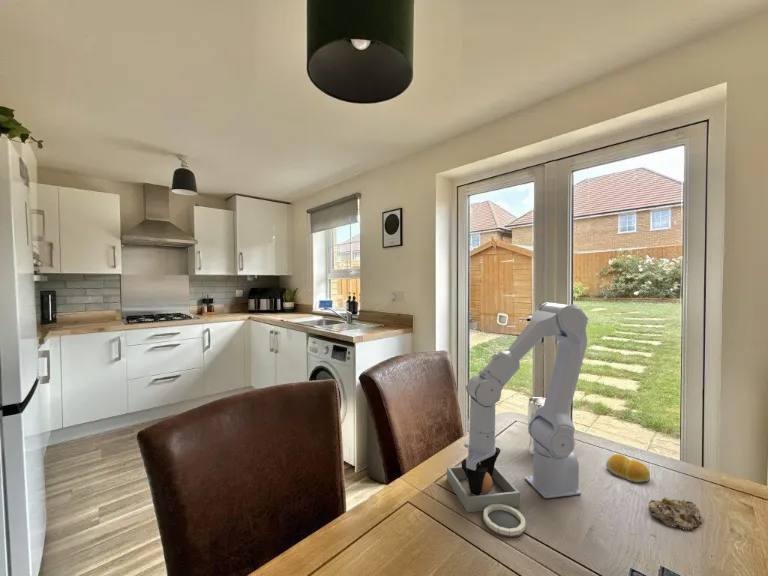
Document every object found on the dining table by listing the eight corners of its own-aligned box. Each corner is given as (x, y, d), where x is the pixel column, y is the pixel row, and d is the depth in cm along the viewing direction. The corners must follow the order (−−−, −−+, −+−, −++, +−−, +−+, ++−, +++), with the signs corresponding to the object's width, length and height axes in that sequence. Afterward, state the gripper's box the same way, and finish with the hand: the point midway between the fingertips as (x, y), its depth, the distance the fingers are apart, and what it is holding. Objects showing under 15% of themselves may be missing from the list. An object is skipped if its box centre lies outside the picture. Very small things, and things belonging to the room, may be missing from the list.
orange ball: (486, 484, 83) (486, 464, 83) (496, 497, 78) (496, 475, 78) (466, 486, 82) (466, 465, 82) (475, 499, 77) (476, 478, 77)
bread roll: (645, 488, 82) (646, 472, 82) (603, 472, 89) (603, 457, 89) (654, 475, 88) (654, 460, 88) (613, 461, 94) (613, 446, 94)
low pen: (492, 474, 87) (492, 462, 87) (519, 506, 75) (520, 492, 75) (446, 479, 85) (447, 467, 85) (467, 512, 73) (467, 498, 73)
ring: (511, 507, 75) (511, 502, 75) (533, 534, 67) (533, 528, 67) (476, 511, 73) (477, 506, 73) (495, 539, 65) (495, 533, 65)
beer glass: (558, 459, 95) (559, 405, 94) (532, 458, 95) (534, 405, 94) (546, 446, 102) (547, 396, 101) (523, 446, 102) (524, 396, 101)
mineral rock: (676, 524, 67) (641, 489, 74) (669, 541, 68) (635, 505, 76) (721, 520, 69) (682, 486, 76) (713, 536, 70) (676, 501, 78)
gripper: (476, 414, 88) (475, 466, 88) (453, 435, 76) (452, 495, 76) (504, 421, 84) (503, 475, 84) (484, 444, 72) (483, 507, 72)
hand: (481, 485), depth 80 cm, fingers open, 7 cm apart
